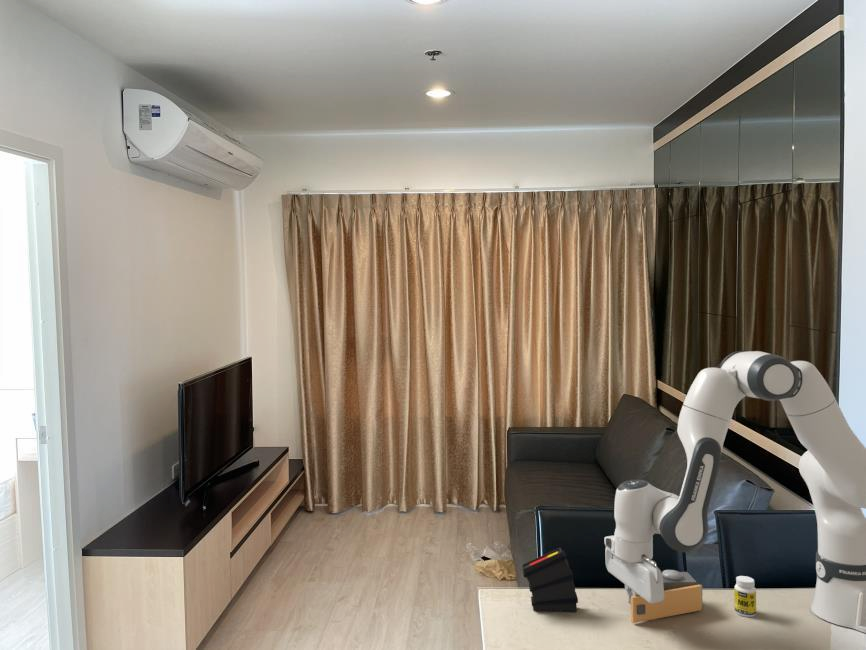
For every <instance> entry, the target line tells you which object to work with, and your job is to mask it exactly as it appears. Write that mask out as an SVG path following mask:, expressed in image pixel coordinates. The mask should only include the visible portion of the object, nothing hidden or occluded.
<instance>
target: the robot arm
mask: <svg viewBox="0 0 866 650" xmlns="http://www.w3.org/2000/svg"><path fill="white" fill-rule="evenodd" d="M745 397H748V398H753V399H754V398H755V399H761V400H763V401H768V402H769V401H780V403H781V405H782V409H783V410H784V412H785V414H786V417H787V419H788V421H789V423H790V425H791V427H792V429H793V431H794V433H795V435H796V437H797V440H798V441H799V442H800V444H801V445H802V446H803V447H804V448H805V449H806V450H807V451H805V452H804V453H803V454H802V455H801V456H800V458H799V463H798V470H799V473H800V477H802V479H803V481H804V482H805V484H806V487H807V488H808V490H809V495H810V498H811V501H812V505H813V509H814V512H815V517H816V523H817V526H816V527H817V551H816V552H815V571H816V572H815V573H816V584H815V589H814V593H813V598H812V602H811V604H810V610H811V612H812V613H813V614H814V615H816V617H818V618H820V619H822V620H824V621H826V622H828V623H832V624H835V625H837V626H841V627H845V628H850V629H854V630H857V631H858V632H861V633H865V634H866V516H865V515H864V512H863V509H866V446H865V445H864V444H863V443H862V441H861V440H860V439H859V438H858V436H857V435H856V433H854V431H853V430H852V428H851V427H850V425H849V423H848V421H847V419H846V418H845V414H843V411H842V410H841V408H840V406H839V404H838V401H837V400H836V399H837V398H836V397H835V395H834V393H833V391H832V389H831V388H830V386H829V384H828V382H827V381H826V379H825V378H824V377H823V375H822V374H821V372H820V371H819V370H818V368H817V367H816V366H815V365H814V364H813V363H811V362H809V361H806V360H793V361H789V360H788V359H786V358H785V357H783V356H781V355H777V354H772V353H769V352H764V351H760V350H755V351H754V350H753V351H752V350H751V351H750V350H737V351H733V352H732V353H730V354H728V355H727V356H725V357H724V358H723V359H722V361H721V362H720V363H719V364H718V365H716V367H706V368H703V369H701V370H700V371H699V372H698V373H697V375H696V376H695V378H694V380H693V382H692V384H691V385H690V387H689V389H688V391H687V394H686V396H685V399H684V400H683V402H682V403H683V404H682V406H681V409H680V412H679V416H678V421H677V428H676V431H677V432H676V433H677V435H678V438H679V440H680V442H681V443H682V446H683V449H684V452H685V455H686V461H687V462H686V463H687V466H686V471H685V476H684V479H683V482H682V486H681V490H680V493H679V495H677V494H675V493H672V492H669V491H665V490H661V489H659V488H657V487H655V486H654V485H652V484H651V483H649V482H648V481H647V480H644V479H630V480H626V481H623V482H622V483H620V484H619V485H618V487H617V488H616V490H615V495H614V509H613V512H614V514H613V515H614V521H615V529H614V533H613V534H614V535H608V536H605V537H604V540H603V541H604V546H605V549H604V550H605V553H604V555H605V567H606V569H607V572H608V573H609V574H611V575H612V576H614V577H615V578H616V579H618V580H619V582H621V583H623V584H624V589H625V592H626V596H627V603H628V604H630V605H631V596H637V595H640V596H641V597H642V598H644V599H645V600H646V601H648V602H649V603H658V602H662V601H663V599H664V586H663V577H662V573H661V572H662V571H661V569H660V568H659V567H658V566H657V565H658V564H657V562H656V561H655V560H652V559H653V556H654V554H653V553H654V552H653V551H654V549H653V548H654V543H653V540H654V538H653V536H654V535H655V534H657V535H661V538H663V540H664V542H665V543H666V545H667V546H668V547H669V548H670V549H672V550H674V551H676V552H679V553H691V552H693V551H696V550H698V549H699V548H701V547H702V546H703V545H704V544H705V542H706V540H707V538H708V535H709V521H708V519H709V518H708V513H709V507H710V502H711V498H712V495H713V490H714V488H715V483H716V481H717V475H718V473H719V468H720V463H721V457H722V453H723V446H724V442H725V440H726V436H727V433H728V430H729V427H730V424H731V421H732V418H733V416H734V412H735V408H736V407H737V406H738V404H739V402H740V401H742V399H744V398H745Z"/></svg>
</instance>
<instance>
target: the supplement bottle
mask: <svg viewBox="0 0 866 650" xmlns="http://www.w3.org/2000/svg"><path fill="white" fill-rule="evenodd" d="M735 581H736V583H735V585H734V591H733V592H734V596H733V597H734V605H733V607H734V612H735V613H736V614H737V615H738V616H742V617H746V618H752V617H755V616H757V589H756V587H755V579H754V578H752V577H750V576H748V575H746V576H745V575H739V576H736V577H735Z"/></svg>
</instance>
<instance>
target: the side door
mask: <svg viewBox="0 0 866 650" xmlns="http://www.w3.org/2000/svg"><path fill="white" fill-rule="evenodd" d="M702 610H703V585H702V584H697V585H694V586H688V587H682V588H677V589H671V590H665V591H664V599H663V601H662V602H658V603H649V602H648V601H646V600H645V599H644V598H642V597H641V596H640V595H637V596H631V604H630V621H631V623H632V624H635V623H641V622H647V621H652V620H656V619H662V618H666V617H672V616H678V615H681V614H682V615H683V614H687V613H692V612H697V611H702Z"/></svg>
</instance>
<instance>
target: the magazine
mask: <svg viewBox="0 0 866 650" xmlns="http://www.w3.org/2000/svg"><path fill="white" fill-rule="evenodd" d="M521 569H522V574H523V578H526V579H527V581H528V582H527V583H528V586H529V587H528V588H529V592H530V593H531V596H530V602H531V606H532V609H533V611H534V612H558V613H559V612H560V613H561V612H564V613H566V612H567V613H577V611H578V609H577V607H578V605H577V604H578V603H579V599H578V595H577V592H576V586H575V583H574V579H575V577H574V574H573V570H572V569H571V568H570V564H569V562H568V560H567V557H566V552H565V550H562V548H561V547H558V548H556V549H554V550H552V551H549V552H547V553H545V554H543V555H541V556H538V557H536V558H534V559H532V560H530V561H527V562H526V563H523V564H522V565H521Z"/></svg>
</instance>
